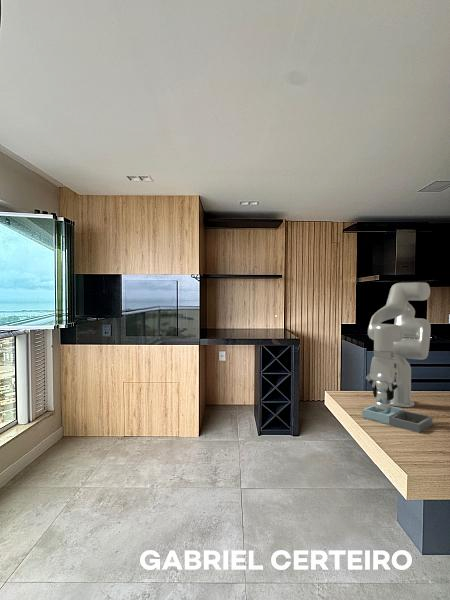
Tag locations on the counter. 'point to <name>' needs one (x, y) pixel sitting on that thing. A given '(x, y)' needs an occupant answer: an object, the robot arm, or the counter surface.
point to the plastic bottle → (382, 395)
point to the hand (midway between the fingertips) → (383, 397)
